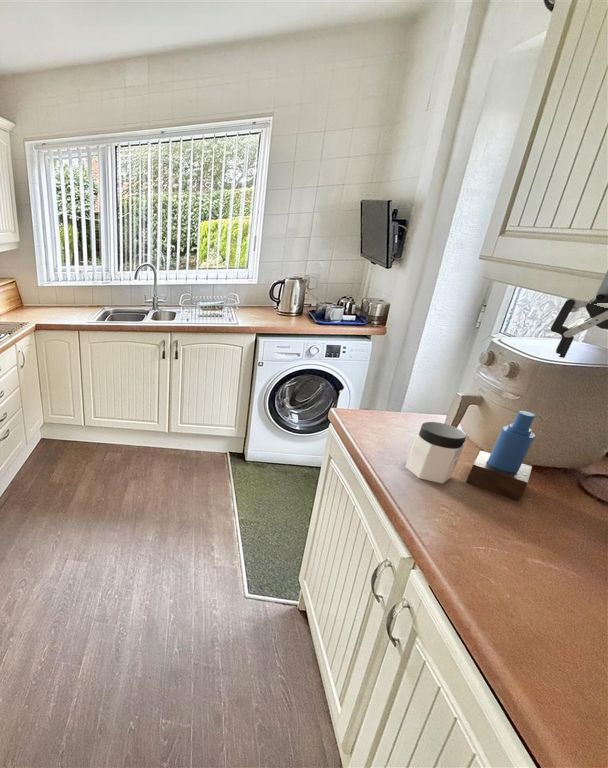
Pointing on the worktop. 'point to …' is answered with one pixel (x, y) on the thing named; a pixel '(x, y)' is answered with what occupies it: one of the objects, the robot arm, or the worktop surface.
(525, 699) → the worktop surface
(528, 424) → the bottle
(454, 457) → the jar
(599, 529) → the worktop surface
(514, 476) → the block
